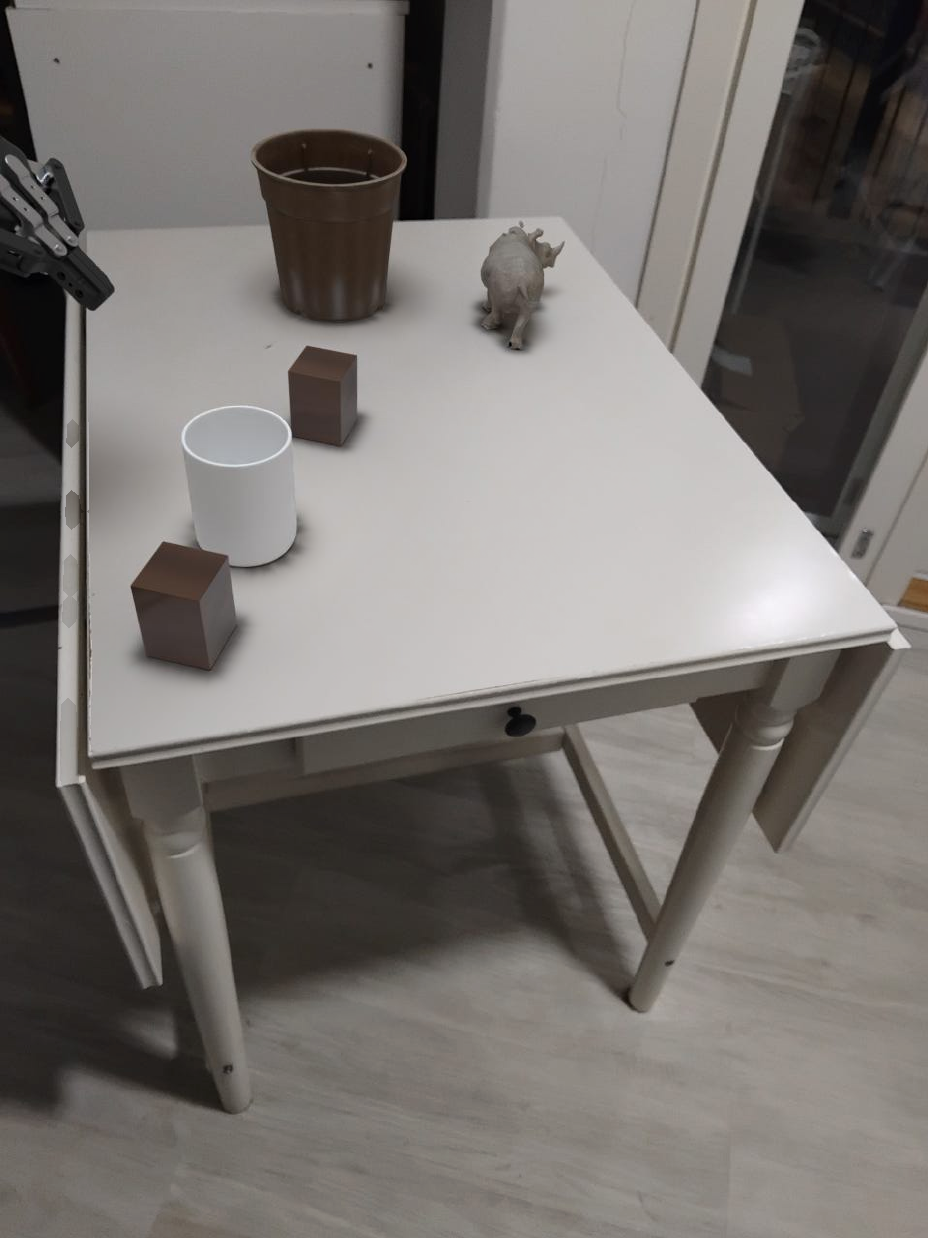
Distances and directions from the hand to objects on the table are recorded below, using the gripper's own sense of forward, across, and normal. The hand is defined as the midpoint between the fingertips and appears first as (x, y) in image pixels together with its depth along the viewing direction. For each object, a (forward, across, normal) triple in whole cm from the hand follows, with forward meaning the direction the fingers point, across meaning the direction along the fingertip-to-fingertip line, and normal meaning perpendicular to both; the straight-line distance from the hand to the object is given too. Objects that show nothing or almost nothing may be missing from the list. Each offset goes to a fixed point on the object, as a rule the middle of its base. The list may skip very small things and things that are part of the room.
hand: (104, 300), depth 70 cm
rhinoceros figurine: (+30, +45, -5) cm, 54 cm away
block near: (+21, -15, +4) cm, 26 cm away
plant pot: (+15, +41, +10) cm, 44 cm away
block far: (+21, +15, +4) cm, 26 cm away
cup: (+20, -1, +5) cm, 21 cm away
